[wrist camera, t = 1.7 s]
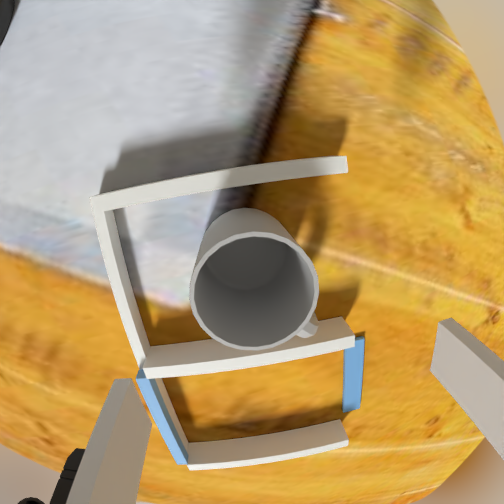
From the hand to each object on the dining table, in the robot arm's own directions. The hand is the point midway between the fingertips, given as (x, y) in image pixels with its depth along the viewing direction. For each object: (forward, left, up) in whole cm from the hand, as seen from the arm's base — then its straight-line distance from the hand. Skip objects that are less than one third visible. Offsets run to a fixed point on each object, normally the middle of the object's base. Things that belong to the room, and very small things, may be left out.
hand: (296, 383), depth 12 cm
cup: (0, 0, -15) cm, 15 cm away
